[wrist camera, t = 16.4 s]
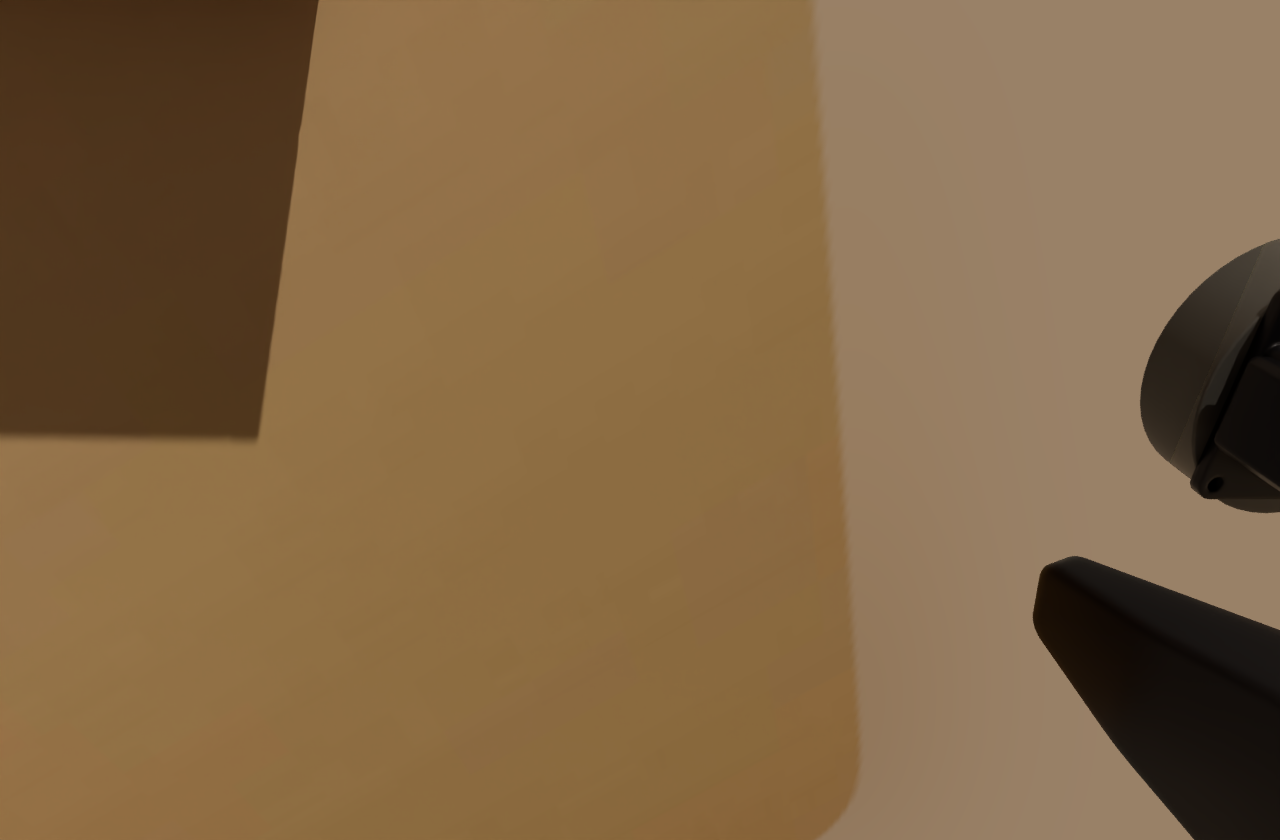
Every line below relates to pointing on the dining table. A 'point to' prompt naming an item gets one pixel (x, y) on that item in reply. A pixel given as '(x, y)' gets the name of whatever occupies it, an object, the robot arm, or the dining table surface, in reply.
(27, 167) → the dining table surface
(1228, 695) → the robot arm
